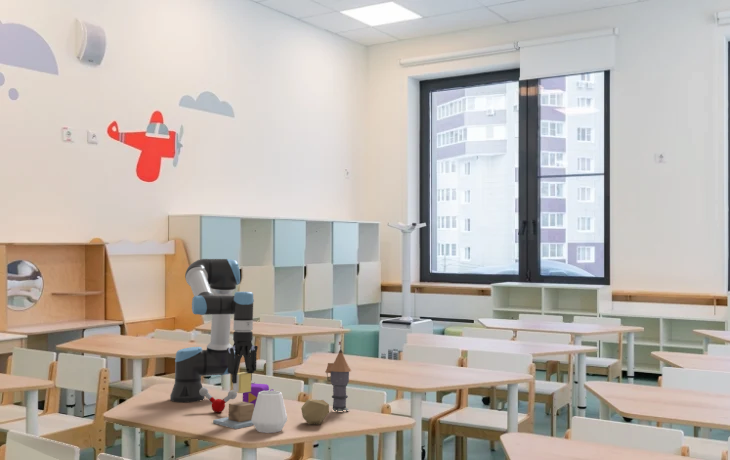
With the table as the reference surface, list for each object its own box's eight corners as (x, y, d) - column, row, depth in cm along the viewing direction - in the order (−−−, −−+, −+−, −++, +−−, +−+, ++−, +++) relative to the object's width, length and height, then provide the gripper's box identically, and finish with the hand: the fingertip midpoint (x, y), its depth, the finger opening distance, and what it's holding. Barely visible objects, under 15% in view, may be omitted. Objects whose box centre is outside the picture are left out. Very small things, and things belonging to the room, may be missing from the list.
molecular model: (196, 411, 295) (197, 387, 295) (204, 409, 300) (204, 385, 300) (232, 415, 288) (233, 391, 289) (240, 413, 293) (240, 388, 294)
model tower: (331, 407, 308) (333, 338, 309) (354, 409, 303) (355, 339, 305) (321, 411, 299) (323, 340, 301) (345, 414, 295) (346, 341, 296)
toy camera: (272, 409, 302) (273, 386, 302) (241, 409, 302) (241, 385, 302) (276, 404, 312) (277, 382, 313) (245, 404, 313) (246, 381, 313)
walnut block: (228, 419, 275) (228, 403, 276) (242, 416, 281) (242, 401, 281) (239, 422, 271) (239, 406, 271) (253, 419, 276) (254, 403, 276)
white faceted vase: (288, 433, 259) (289, 395, 260) (252, 434, 257) (253, 396, 257) (285, 425, 272) (286, 389, 273) (250, 426, 270) (251, 389, 270)
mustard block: (232, 391, 276) (233, 373, 276) (242, 390, 280) (243, 372, 280) (240, 393, 273) (241, 374, 273) (250, 391, 276) (251, 373, 277)
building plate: (213, 422, 275) (213, 419, 275) (245, 416, 286) (245, 413, 287) (235, 428, 265) (235, 425, 265) (268, 422, 277) (268, 418, 277)
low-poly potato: (310, 429, 268) (336, 414, 270) (296, 403, 270) (323, 388, 273) (309, 431, 282) (334, 417, 284) (296, 407, 284) (321, 393, 287)
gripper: (230, 332, 268) (228, 394, 267) (266, 330, 282) (265, 389, 281) (218, 331, 273) (217, 392, 272) (254, 329, 287) (253, 386, 286)
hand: (241, 390), depth 276 cm, fingers closed on mustard block, 5 cm apart
